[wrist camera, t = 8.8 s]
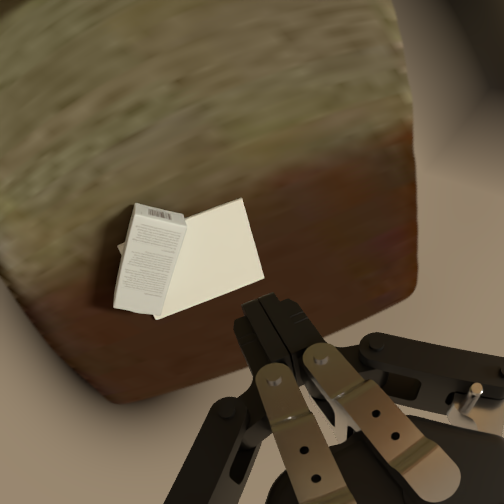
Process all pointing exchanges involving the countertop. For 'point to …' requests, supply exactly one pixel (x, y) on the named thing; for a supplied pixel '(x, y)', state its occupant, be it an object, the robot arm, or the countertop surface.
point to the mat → (212, 258)
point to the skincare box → (148, 259)
